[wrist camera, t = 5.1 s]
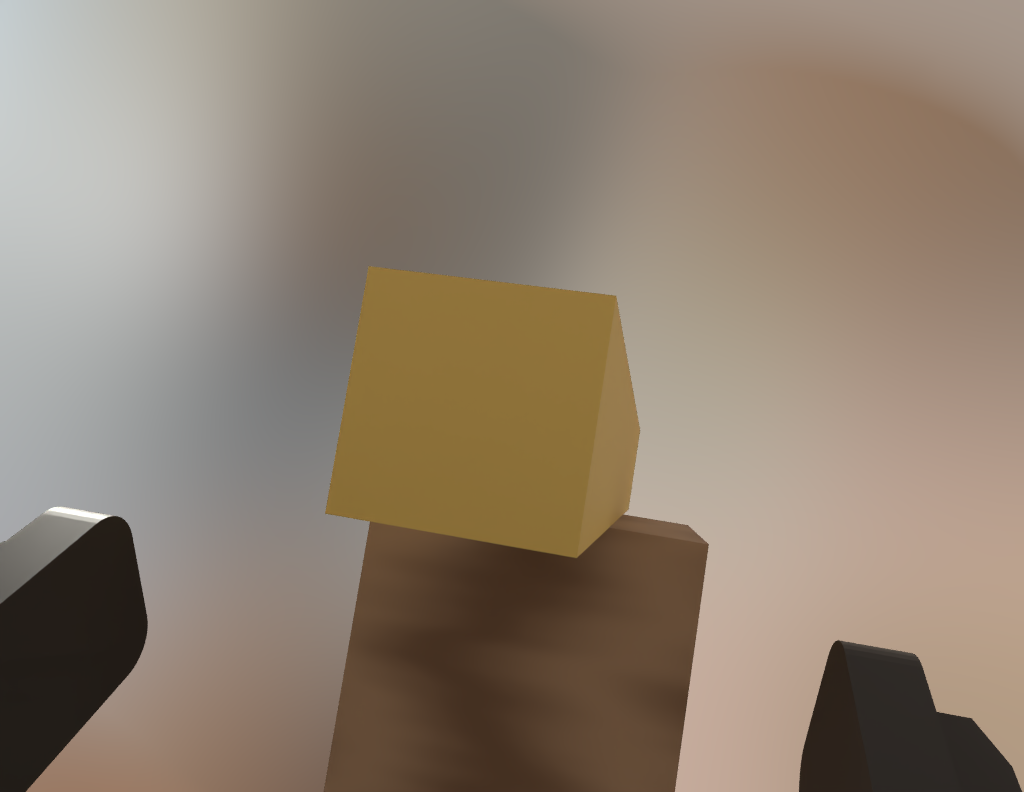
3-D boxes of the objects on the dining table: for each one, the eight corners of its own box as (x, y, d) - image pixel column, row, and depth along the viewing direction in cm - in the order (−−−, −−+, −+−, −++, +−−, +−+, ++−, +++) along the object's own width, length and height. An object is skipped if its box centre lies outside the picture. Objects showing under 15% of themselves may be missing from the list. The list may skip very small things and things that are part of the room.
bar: (325, 513, 11) (369, 266, 12) (549, 496, 37) (561, 418, 37) (576, 557, 11) (616, 295, 11) (628, 509, 36) (640, 430, 37)
